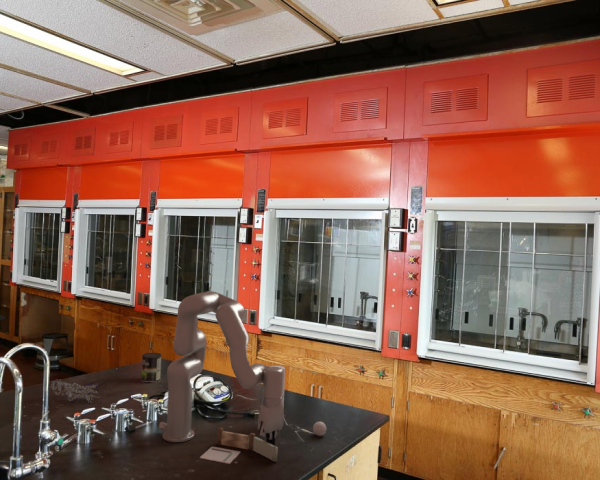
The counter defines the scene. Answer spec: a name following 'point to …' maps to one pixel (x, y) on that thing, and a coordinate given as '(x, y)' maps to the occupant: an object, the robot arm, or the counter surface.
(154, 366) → the coffee can
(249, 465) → the counter surface
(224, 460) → the card
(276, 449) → the cream flat slab
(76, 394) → the dark piece
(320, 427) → the pinkish brown egg
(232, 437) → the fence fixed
